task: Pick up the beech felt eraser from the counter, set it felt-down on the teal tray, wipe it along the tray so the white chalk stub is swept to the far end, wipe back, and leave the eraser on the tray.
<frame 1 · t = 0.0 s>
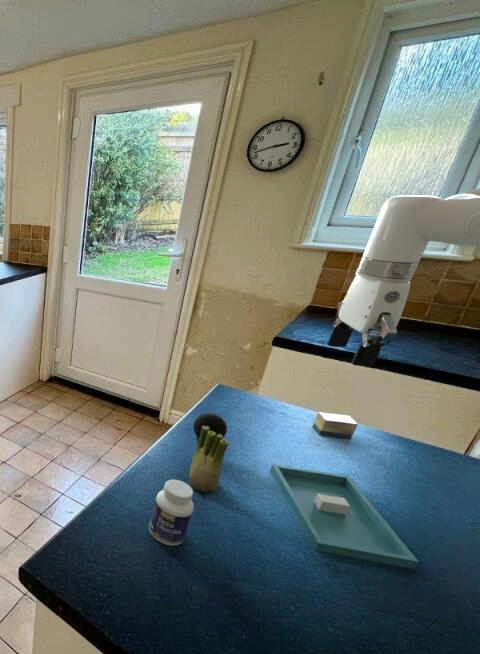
hand: (348, 355, 82), 20 cm above the worktop, tool pointing down, fingers open, 9 cm apart
eraser: (330, 432, 94), on the worktop
chalk: (329, 508, 72), point 1 cm above the worktop, touching tray
fennel bulb: (200, 486, 78), on the worktop
pill bottle: (165, 534, 68), on the worktop
tray: (330, 515, 72), on the worktop
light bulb: (201, 456, 87), on the worktop
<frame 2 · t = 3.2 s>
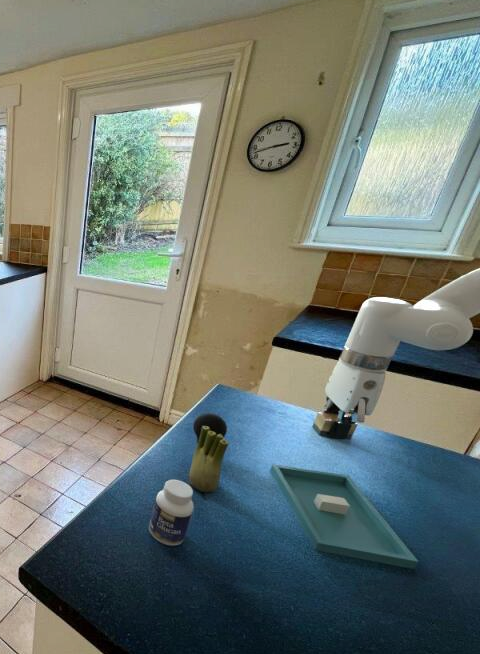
hand: (331, 431, 94), 0 cm above the worktop, tool pointing down, fingers closed on eraser, 3 cm apart
eraser: (330, 432, 94), on the worktop, touching gripper
everything else where it was.
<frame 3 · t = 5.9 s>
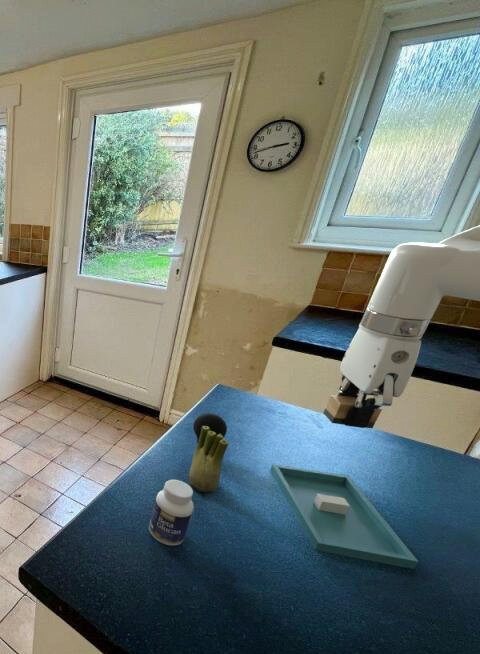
hand: (348, 418, 75), 13 cm above the worktop, tool pointing down, fingers closed on eraser, 3 cm apart
eraser: (346, 420, 75), point 13 cm above the worktop, touching gripper
everything else where it was.
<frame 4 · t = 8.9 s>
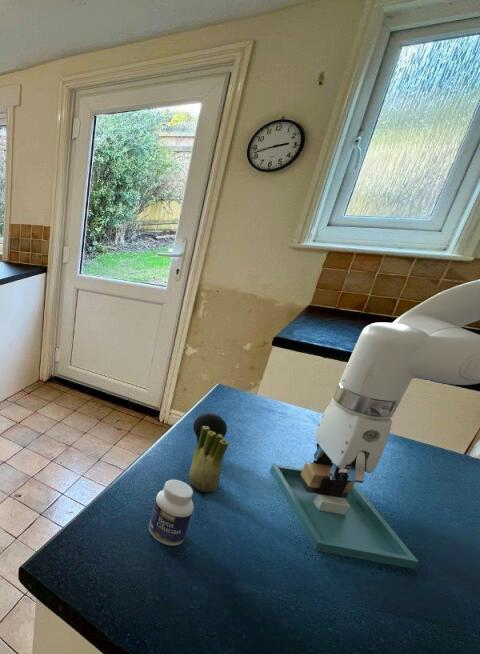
hand: (322, 486, 75), 2 cm above the worktop, tool pointing down, fingers closed on eraser, 3 cm apart
eraser: (321, 488, 75), point 2 cm above the worktop, touching gripper
chalk: (329, 508, 72), point 1 cm above the worktop, touching gripper, tray
everything else where it was.
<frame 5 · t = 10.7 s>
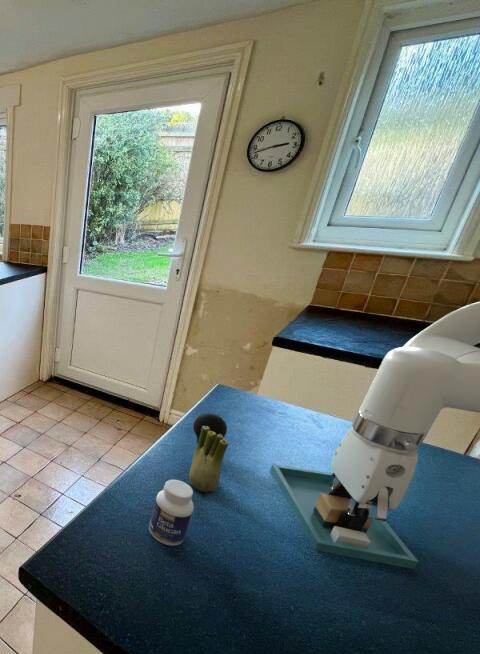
hand: (339, 520, 69), 1 cm above the worktop, tool pointing down, fingers closed on eraser, 3 cm apart
eraser: (338, 522, 69), point 1 cm above the worktop, touching gripper
chalk: (347, 542, 66), point 1 cm above the worktop, touching tray
everything else where it was.
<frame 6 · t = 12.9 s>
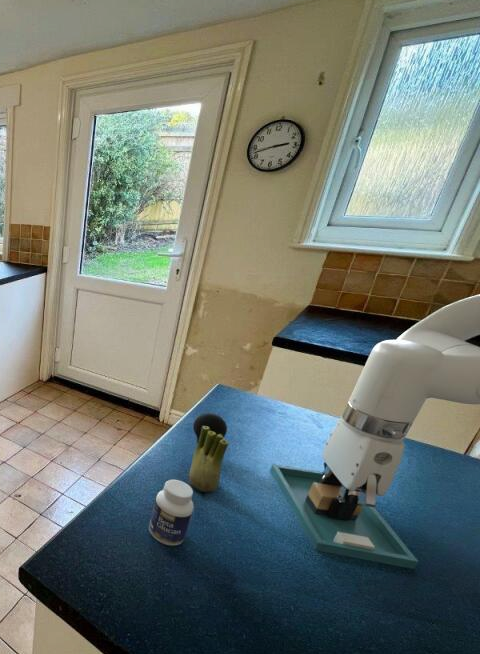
hand: (331, 507, 72), 1 cm above the worktop, tool pointing down, fingers closed on eraser, 3 cm apart
eraser: (329, 509, 72), point 1 cm above the worktop, touching gripper
chalk: (350, 548, 65), point 1 cm above the worktop, touching tray
everything else where it was.
when the fingers open (1 cm above the worktop, at t = 14.3 s): eraser stays where it is, resting on tray.
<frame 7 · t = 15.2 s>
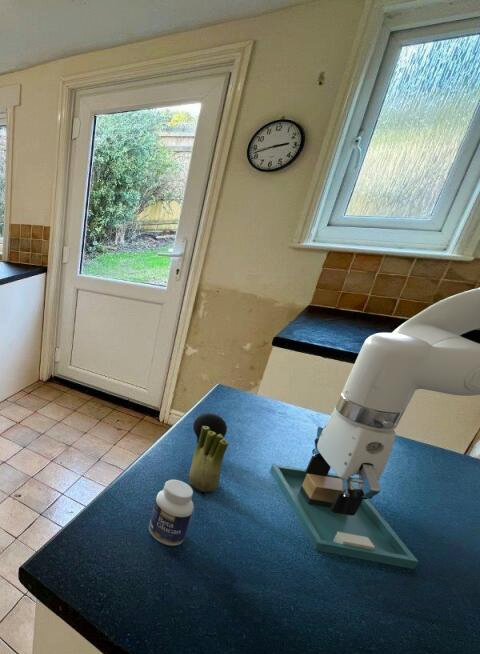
hand: (327, 492, 73), 2 cm above the worktop, tool pointing down, fingers open, 9 cm apart
eraser: (323, 500, 74), point 1 cm above the worktop, touching tray
everything else where it was.
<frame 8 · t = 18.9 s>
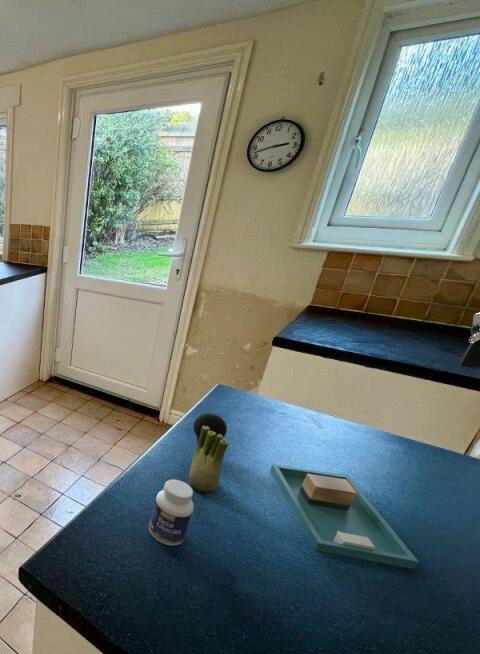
nothing on the worktop moved.
at the end: chalk inside the target area in the tray (1.3 cm from its centre), point 0.6 cm above the tray's base; eraser inside the target area in the tray (3.0 cm from its centre), point 0.6 cm above the tray's base; the gripper is holding nothing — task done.
